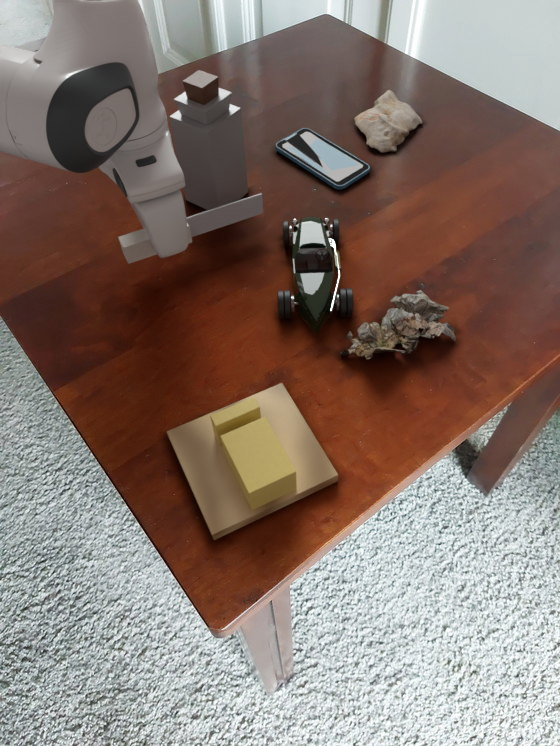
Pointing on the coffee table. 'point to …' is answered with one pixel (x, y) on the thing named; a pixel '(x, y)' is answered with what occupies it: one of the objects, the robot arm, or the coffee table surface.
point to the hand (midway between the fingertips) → (155, 238)
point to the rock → (401, 326)
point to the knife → (194, 226)
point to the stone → (387, 122)
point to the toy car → (314, 273)
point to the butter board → (217, 479)
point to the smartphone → (322, 158)
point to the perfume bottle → (209, 143)
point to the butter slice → (235, 417)
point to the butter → (259, 462)
